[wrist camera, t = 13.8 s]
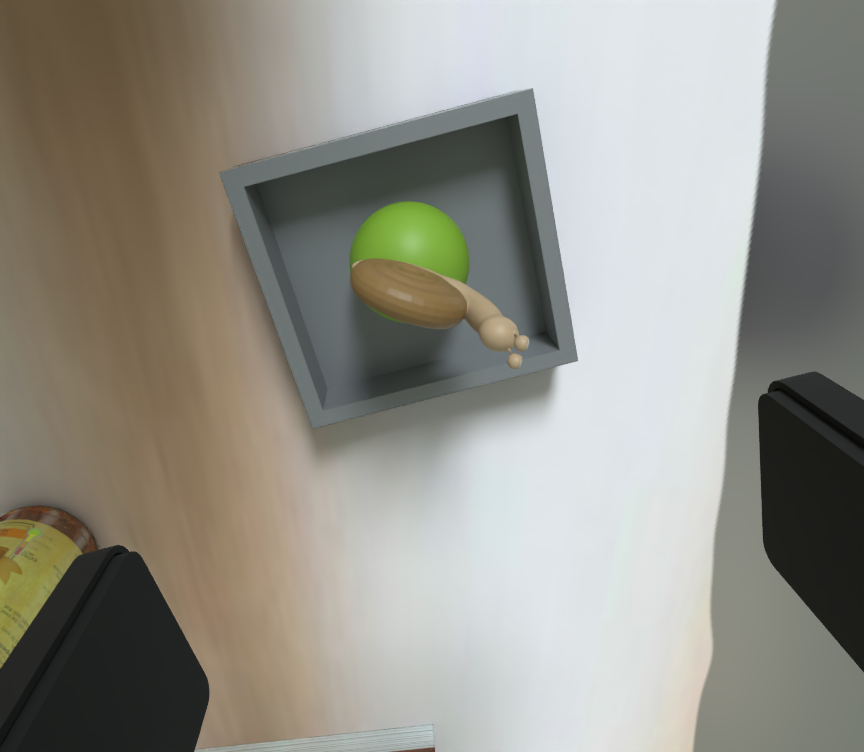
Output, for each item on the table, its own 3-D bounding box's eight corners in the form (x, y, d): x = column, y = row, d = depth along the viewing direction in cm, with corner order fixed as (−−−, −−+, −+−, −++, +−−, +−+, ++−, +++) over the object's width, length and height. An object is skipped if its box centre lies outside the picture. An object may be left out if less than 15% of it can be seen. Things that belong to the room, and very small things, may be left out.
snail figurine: (461, 321, 33) (500, 428, 22) (340, 287, 32) (317, 381, 21) (496, 219, 31) (558, 279, 20) (368, 179, 30) (360, 220, 19)
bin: (236, 166, 30) (219, 172, 27) (516, 90, 30) (532, 88, 26) (318, 399, 35) (312, 428, 32) (559, 337, 34) (578, 360, 31)
